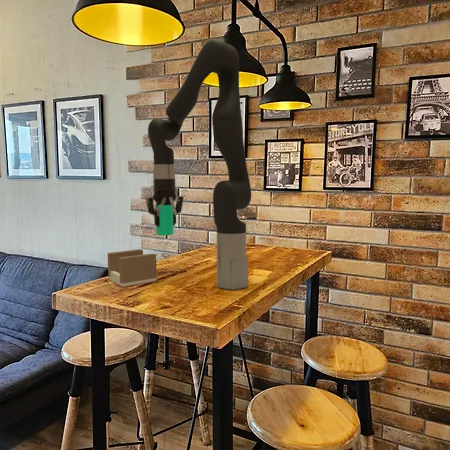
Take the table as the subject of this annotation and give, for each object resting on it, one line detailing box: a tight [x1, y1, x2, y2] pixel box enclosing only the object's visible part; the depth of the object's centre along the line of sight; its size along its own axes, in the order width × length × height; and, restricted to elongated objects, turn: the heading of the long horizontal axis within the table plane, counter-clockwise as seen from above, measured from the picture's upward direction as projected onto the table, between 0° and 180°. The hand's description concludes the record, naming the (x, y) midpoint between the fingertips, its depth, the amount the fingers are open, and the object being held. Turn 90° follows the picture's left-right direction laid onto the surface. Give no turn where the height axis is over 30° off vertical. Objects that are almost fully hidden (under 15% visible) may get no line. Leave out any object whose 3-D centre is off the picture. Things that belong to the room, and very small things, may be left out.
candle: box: [155, 205, 174, 236], centre depth 146 cm, size 6×6×12 cm
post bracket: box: [107, 248, 158, 287], centre depth 138 cm, size 12×12×9 cm
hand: (165, 225), depth 146 cm, fingers closed on candle, 5 cm apart
